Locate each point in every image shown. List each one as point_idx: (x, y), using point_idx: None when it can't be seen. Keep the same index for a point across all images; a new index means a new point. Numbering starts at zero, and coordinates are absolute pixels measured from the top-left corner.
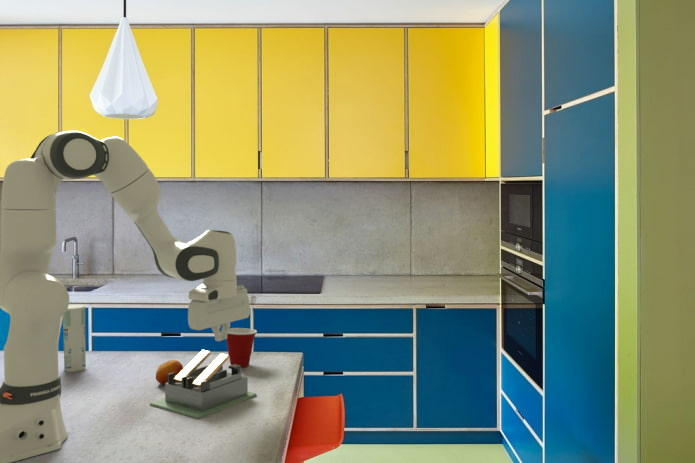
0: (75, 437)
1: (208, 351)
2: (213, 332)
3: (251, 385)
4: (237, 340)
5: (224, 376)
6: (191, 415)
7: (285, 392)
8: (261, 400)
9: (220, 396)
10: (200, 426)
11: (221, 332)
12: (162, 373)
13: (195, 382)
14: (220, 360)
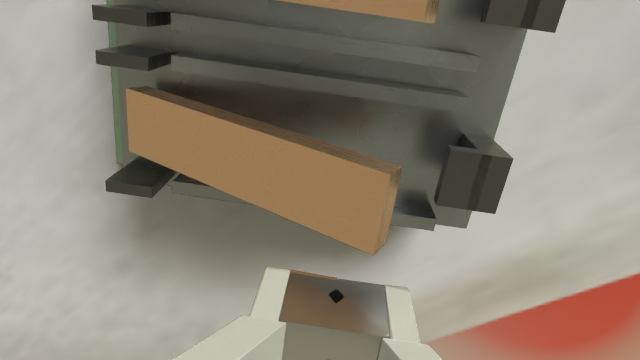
0: None
1: (419, 7)
2: (215, 332)
3: (617, 106)
4: None
5: (423, 109)
6: (115, 127)
7: (553, 286)
8: (422, 254)
9: None
10: (79, 210)
11: (381, 351)
12: None
13: (134, 110)
14: (311, 207)
